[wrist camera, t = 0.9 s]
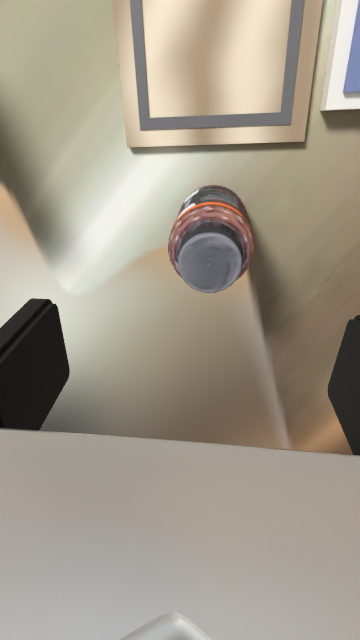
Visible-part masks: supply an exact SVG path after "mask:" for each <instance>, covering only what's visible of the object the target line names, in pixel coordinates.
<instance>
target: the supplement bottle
mask: <svg viewBox="0 0 360 640" xmlns="http://www.w3.org/2000/svg"><path fill="white" fill-rule="evenodd" d="M253 252H254V238H253V234H252V230H251V226H250V223H249V220H248V216H247V213H246V210H245V207H244V205H243V203H242V202H241V200H240V198H239V197H238V196H237V195H236V194H235V193H234V192H233V191H231V190H229V189H227V188H225V187H222V186H217V185H209V186H205V187H202V188H200V189H198V190H196V191H194V192H193V193H192V194H191V195H190V196H189V197H188V198H187V199H186V200H185V202H184V203H183V205H182V207H181V209H180V212H179V214H178V217H177V219H176V221H175V224H174V226H173V228H172V231H171V234H170V237H169V244H168V253H169V257H170V260H171V263H172V265H173V267H174V269H175V271H176V272H177V273H178V274H179V275H180V276H181V277H182V278H183V280H184V281H185V282H186V283H187V284H188V285H189V286H190V287H191V288H193V289H195V290H197V291H200V292H205V293H212V292H218V291H222V290H224V289H226V288H228V287H229V286H231V285H232V284H233V283H234V282H235V281H236V280H237V279H238V278H240V277H241V276H242V275H243V274H244V272H245V271H246V270H247V268H248V267H249V264H250V263H251V260H252V257H253Z"/></svg>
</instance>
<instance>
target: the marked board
mask: <svg viewBox="0 0 360 640" xmlns="http://www.w3.org/2000/svg"><path fill="white" fill-rule="evenodd" d="M322 2H323V0H113V8H114V18H115V29H116V39H117V49H118V59H119V69H120V79H121V89H122V99H123V109H124V119H125V129H126V139H127V147H154V146H184V145H214V144H244V143H274V142H303V141H304V139H305V131H306V124H307V116H308V108H309V101H310V93H311V86H312V78H313V71H314V63H315V55H316V48H317V40H318V33H319V25H320V18H321V10H322Z"/></svg>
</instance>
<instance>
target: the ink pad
mask: <svg viewBox="0 0 360 640" xmlns="http://www.w3.org/2000/svg"><path fill="white" fill-rule="evenodd" d="M352 109H360V0H336V5H335V12H334V19H333V25H332V32H331V39H330V46H329V53H328V59H327V66H326V73H325V80H324V87H323V94H322V100H321V107H320V111H328V110H352Z"/></svg>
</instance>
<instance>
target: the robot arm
mask: <svg viewBox="0 0 360 640" xmlns="http://www.w3.org/2000/svg"><path fill="white" fill-rule="evenodd" d="M68 377H69V364H68V359H67V354H66V349H65V343H64V338H63V333H62V328H61V323H60V318H59V312H58V307H57V305H56V304H53V303H52V302H51V300H49V299H30V300H29V301H28V302H27V303H26V304H25V305H24V306H23V307H22V308H21V309H20V310H19V311H17V312H16V314H14V315H13V316H12V317H11V318H10V319H9V320H8V321H7V322H6V323H5V324H4V325H3V326H2V327H1V328H0V640H360V315H357V316H356V317H355V318H354V320H352V319H351V320H349V321H348V324H347V326H346V330H345V333H344V336H343V339H342V343H341V346H340V349H339V352H338V355H337V359H336V362H335V365H334V368H333V372H332V375H331V378H330V381H329V384H328V396H329V399H330V401H331V403H332V406H333V408H334V410H335V413H336V415H337V417H338V419H339V422H340V424H341V426H342V429H343V431H344V433H345V436H346V438H347V440H348V443H349V445H350V447H351V450H352V452H353V454H354V455H350V454H338V453H326V452H313V451H301V450H289V449H276V448H263V447H250V446H238V445H225V444H213V443H200V442H186V441H172V440H160V439H147V438H146V439H145V438H134V437H120V436H106V435H93V434H79V433H65V432H51V431H50V432H49V431H39V429H40V428H41V426H42V424H43V422H44V421H45V419H46V417H47V415H48V413H49V412H50V410H51V408H52V406H53V405H54V403H55V401H56V399H57V398H58V396H59V394H60V392H61V391H62V389H63V387H64V385H65V383H66V382H67V380H68Z"/></svg>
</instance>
